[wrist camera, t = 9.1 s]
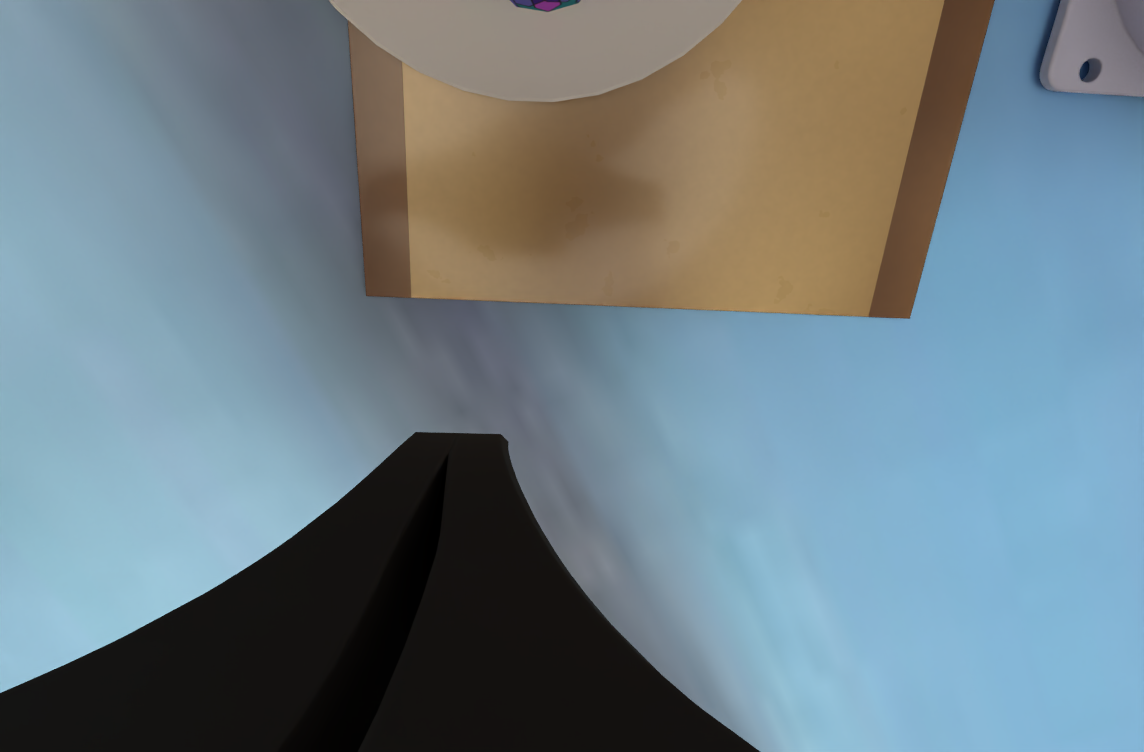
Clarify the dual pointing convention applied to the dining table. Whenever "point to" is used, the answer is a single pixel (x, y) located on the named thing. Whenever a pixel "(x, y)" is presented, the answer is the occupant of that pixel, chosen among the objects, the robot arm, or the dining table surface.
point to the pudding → (536, 41)
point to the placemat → (681, 169)
